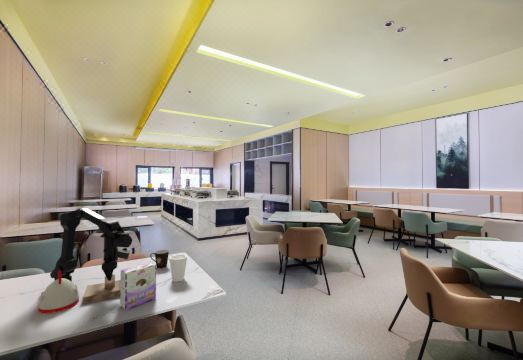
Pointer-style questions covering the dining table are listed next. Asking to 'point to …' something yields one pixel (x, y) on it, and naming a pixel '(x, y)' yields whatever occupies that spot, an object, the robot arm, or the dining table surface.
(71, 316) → the dining table surface
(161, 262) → the coffee mug
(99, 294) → the board
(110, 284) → the peg
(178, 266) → the foam cup
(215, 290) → the dining table surface
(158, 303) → the dining table surface
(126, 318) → the dining table surface
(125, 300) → the candy box
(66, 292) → the kitchen timer
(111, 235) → the robot arm
